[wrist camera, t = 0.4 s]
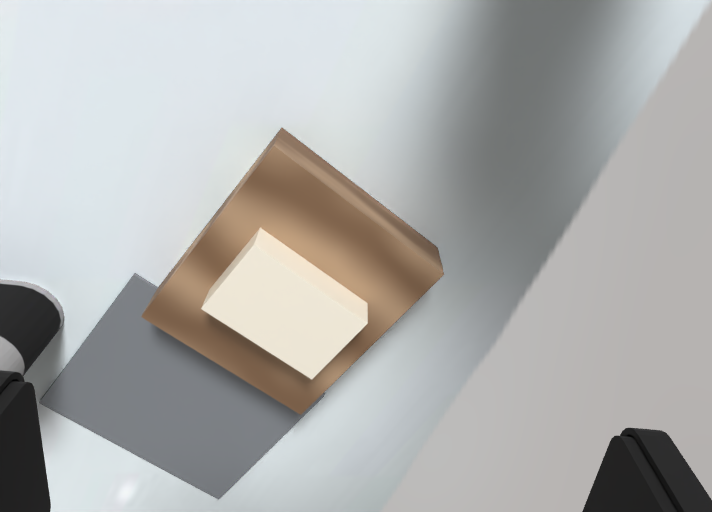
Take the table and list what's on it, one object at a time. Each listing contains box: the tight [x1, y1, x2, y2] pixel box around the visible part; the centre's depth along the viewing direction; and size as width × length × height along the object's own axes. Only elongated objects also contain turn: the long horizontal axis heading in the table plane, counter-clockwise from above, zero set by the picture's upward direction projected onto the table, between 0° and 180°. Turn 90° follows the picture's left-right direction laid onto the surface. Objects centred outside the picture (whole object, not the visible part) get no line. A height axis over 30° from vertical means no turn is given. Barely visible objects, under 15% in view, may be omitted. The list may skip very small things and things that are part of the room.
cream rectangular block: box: [201, 228, 368, 379], centre depth 40 cm, size 6×9×2 cm, turn 51°
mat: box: [39, 273, 325, 499], centre depth 51 cm, size 16×18×1 cm
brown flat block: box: [141, 128, 444, 415], centre depth 43 cm, size 16×14×4 cm
